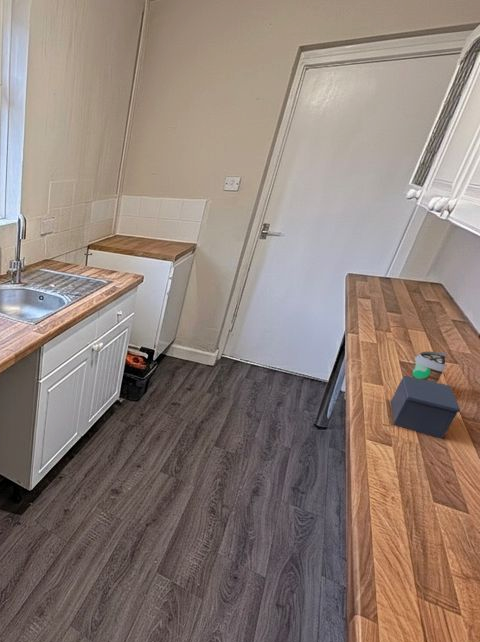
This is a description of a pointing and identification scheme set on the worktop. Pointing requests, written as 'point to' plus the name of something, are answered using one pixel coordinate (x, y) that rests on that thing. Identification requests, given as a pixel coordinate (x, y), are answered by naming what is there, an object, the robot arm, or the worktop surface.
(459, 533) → the worktop surface
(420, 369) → the food container
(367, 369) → the worktop surface
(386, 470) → the worktop surface
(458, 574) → the worktop surface
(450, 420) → the chest
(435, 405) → the lid
